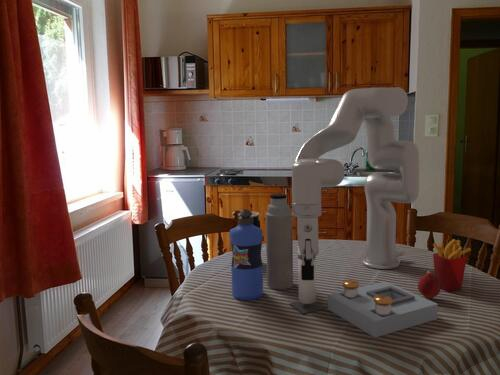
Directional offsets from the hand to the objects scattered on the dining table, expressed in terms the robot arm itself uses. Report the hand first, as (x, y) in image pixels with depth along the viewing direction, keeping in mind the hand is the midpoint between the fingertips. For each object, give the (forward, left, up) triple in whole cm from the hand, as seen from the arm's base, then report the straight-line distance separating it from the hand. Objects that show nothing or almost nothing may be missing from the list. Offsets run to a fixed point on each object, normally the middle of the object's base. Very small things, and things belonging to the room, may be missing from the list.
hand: (307, 275), depth 120 cm
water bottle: (+10, -16, -9) cm, 21 cm away
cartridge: (0, 0, -7) cm, 7 cm away
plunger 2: (-9, +19, -8) cm, 23 cm away
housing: (-14, +13, -9) cm, 21 cm away
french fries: (-44, +10, -9) cm, 46 cm away
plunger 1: (-9, +7, -8) cm, 14 cm away
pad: (0, 0, -9) cm, 9 cm away
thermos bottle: (-2, -18, -9) cm, 20 cm away
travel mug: (-3, -41, -9) cm, 42 cm away
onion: (-32, +12, -9) cm, 35 cm away
